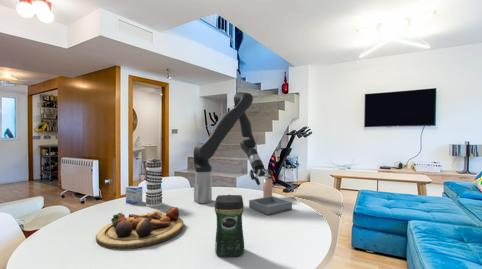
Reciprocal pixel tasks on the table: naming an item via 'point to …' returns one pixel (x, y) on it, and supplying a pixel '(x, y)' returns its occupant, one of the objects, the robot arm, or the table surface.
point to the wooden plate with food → (140, 229)
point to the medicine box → (133, 194)
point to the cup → (267, 187)
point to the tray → (270, 205)
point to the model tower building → (153, 182)
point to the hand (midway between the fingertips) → (265, 183)
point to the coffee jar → (229, 225)
